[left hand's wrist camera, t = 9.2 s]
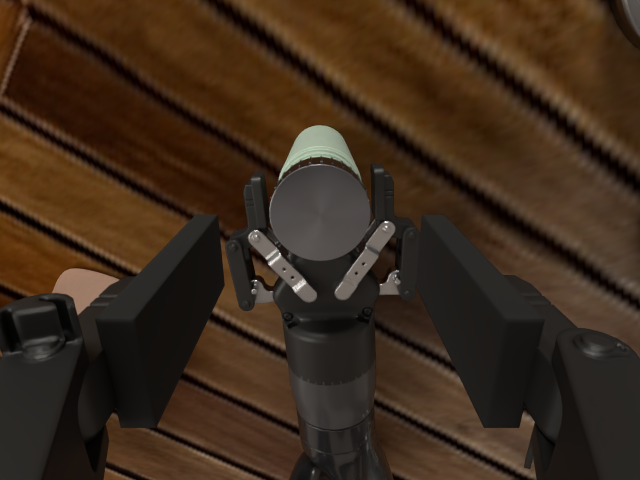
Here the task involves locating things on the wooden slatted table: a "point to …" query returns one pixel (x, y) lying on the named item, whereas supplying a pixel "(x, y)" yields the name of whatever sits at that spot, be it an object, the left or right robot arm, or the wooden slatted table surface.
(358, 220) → the cap
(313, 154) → the bottle
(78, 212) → the wooden slatted table surface
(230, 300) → the wooden slatted table surface
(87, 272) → the anatomical model
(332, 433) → the right robot arm
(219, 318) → the wooden slatted table surface
